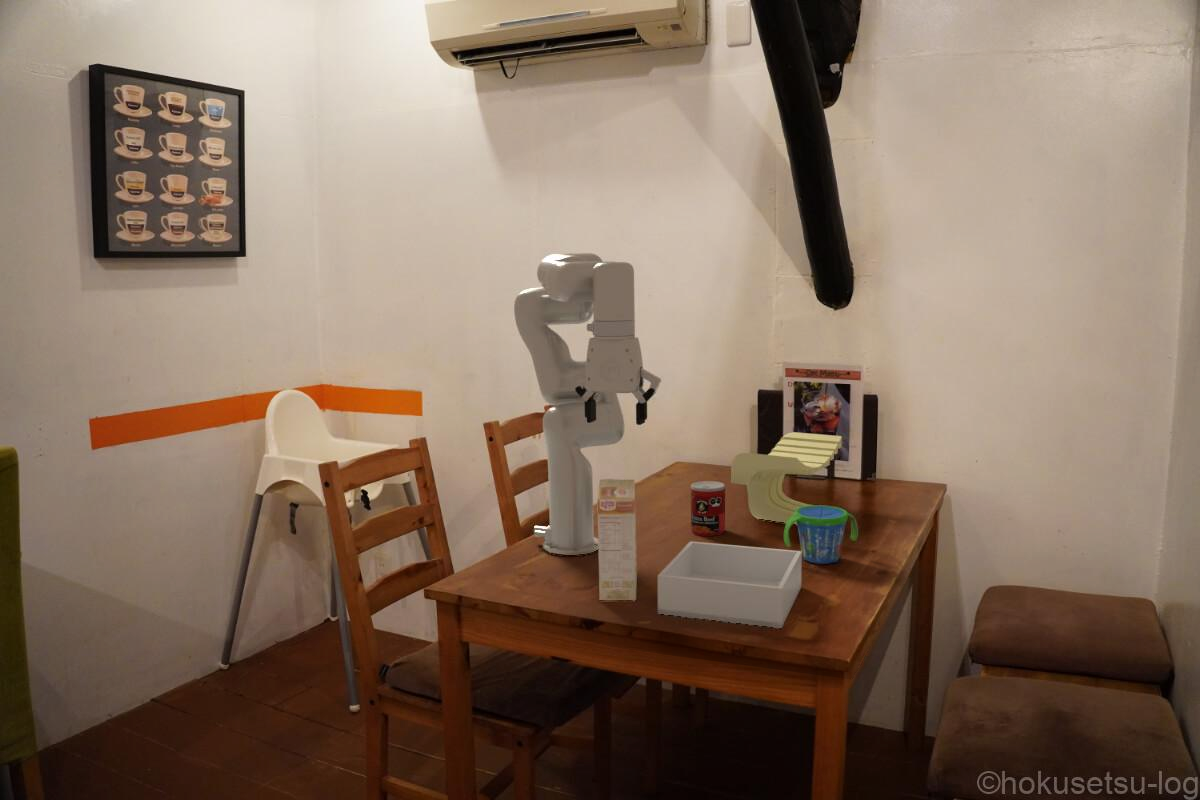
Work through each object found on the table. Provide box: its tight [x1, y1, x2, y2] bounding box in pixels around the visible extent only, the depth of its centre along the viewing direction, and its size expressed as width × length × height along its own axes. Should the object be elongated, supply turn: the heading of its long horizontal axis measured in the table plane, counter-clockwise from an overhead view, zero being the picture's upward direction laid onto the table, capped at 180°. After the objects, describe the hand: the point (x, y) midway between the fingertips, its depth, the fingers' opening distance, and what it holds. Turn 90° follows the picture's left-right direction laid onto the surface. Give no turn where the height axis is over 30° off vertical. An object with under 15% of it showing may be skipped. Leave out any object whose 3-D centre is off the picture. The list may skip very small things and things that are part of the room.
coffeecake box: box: [596, 478, 638, 602], centre depth 177 cm, size 15×7×20 cm, turn 178°
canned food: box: [690, 480, 726, 537], centre depth 214 cm, size 8×8×11 cm
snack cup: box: [783, 504, 859, 565], centre depth 193 cm, size 16×10×10 cm
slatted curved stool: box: [730, 431, 843, 526], centre depth 226 cm, size 30×16×18 cm, turn 147°
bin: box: [657, 540, 803, 629], centre depth 170 cm, size 22×22×7 cm
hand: (615, 422), depth 174 cm, fingers open, 9 cm apart
